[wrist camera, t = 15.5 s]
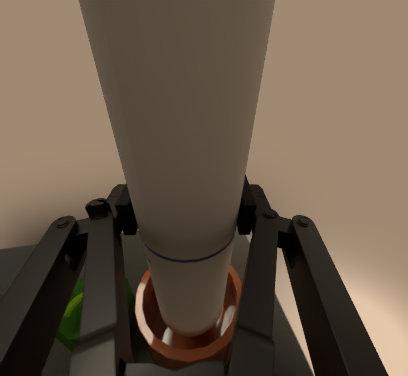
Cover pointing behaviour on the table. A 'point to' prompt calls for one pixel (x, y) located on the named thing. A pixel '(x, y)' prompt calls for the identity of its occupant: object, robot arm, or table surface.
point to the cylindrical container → (182, 134)
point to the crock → (183, 345)
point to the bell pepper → (72, 315)
